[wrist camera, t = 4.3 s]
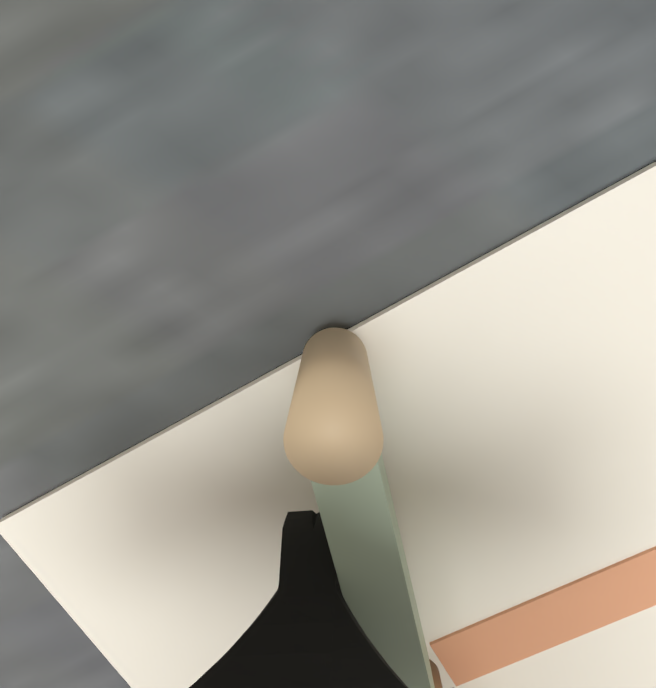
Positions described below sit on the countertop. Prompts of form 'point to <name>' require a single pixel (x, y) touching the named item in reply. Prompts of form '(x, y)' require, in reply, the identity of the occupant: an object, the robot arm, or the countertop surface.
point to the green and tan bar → (356, 496)
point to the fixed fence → (435, 675)
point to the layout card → (415, 478)
